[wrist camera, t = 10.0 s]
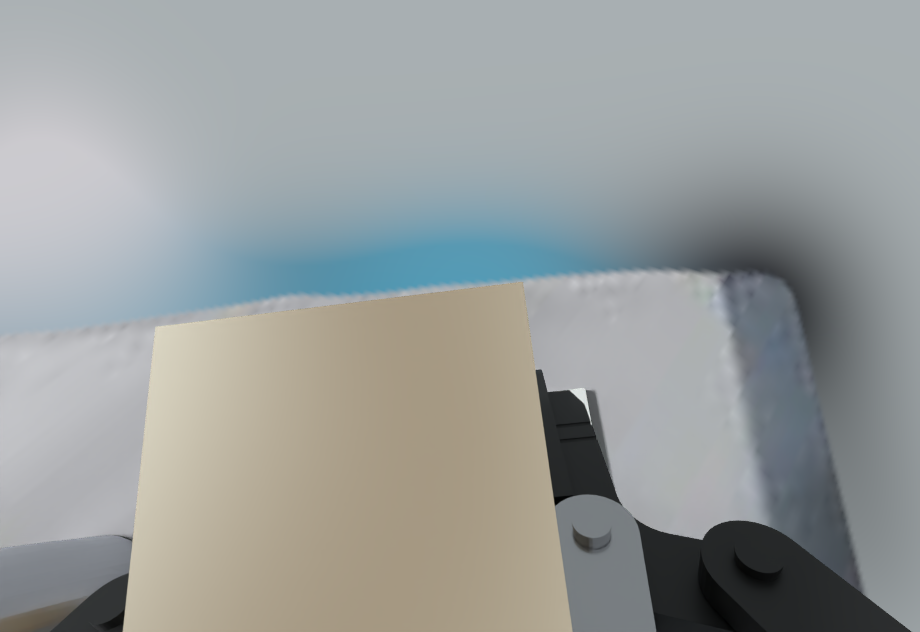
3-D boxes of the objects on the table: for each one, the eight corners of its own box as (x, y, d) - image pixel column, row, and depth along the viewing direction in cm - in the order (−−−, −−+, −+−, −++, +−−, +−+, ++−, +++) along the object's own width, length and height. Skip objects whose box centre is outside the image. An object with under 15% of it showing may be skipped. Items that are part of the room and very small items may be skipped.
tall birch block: (437, 571, 16) (84, 1004, 3) (427, 443, 17) (154, 327, 4) (530, 563, 16) (624, 987, 3) (514, 435, 17) (521, 282, 4)
